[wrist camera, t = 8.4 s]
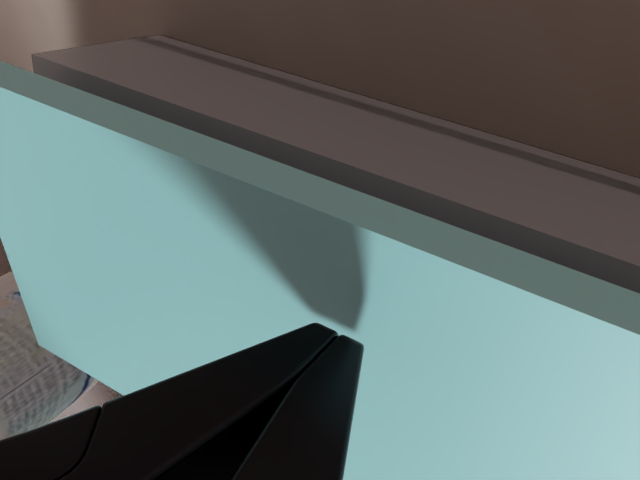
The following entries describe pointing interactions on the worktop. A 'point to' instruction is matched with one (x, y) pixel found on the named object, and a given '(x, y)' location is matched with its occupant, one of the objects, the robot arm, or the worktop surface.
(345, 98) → the grey rectangular box
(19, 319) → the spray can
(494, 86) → the worktop surface
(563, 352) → the lid
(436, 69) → the worktop surface
